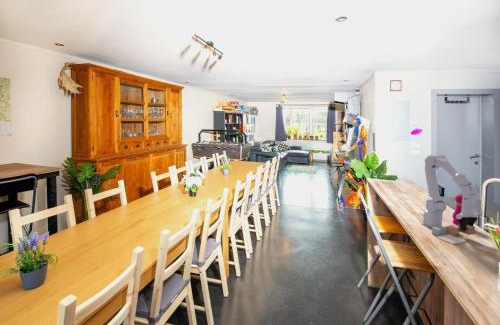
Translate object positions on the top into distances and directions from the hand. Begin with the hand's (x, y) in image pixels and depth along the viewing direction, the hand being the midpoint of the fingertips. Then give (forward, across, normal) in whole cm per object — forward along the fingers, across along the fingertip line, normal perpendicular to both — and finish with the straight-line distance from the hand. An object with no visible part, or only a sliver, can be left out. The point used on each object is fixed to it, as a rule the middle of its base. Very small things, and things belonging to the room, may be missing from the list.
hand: (466, 229), depth 157 cm
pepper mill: (+5, +18, +17) cm, 26 cm away
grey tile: (+5, -10, +1) cm, 11 cm away
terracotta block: (+5, 0, +7) cm, 9 cm away
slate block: (+5, -8, +9) cm, 13 cm away
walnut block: (+2, 0, 0) cm, 2 cm away
